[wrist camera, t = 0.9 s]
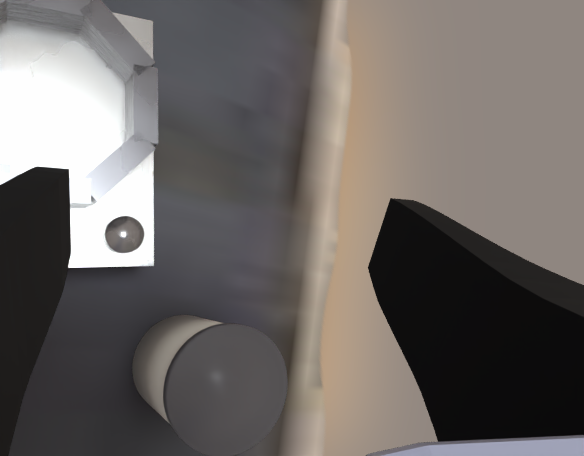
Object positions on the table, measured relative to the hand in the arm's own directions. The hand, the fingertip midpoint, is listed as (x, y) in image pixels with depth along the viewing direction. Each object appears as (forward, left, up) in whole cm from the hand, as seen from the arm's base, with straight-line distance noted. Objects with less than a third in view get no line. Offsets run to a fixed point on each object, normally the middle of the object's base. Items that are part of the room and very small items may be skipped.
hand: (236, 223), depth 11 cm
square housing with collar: (+4, +3, -13) cm, 14 cm away
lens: (-5, -3, -13) cm, 14 cm away
